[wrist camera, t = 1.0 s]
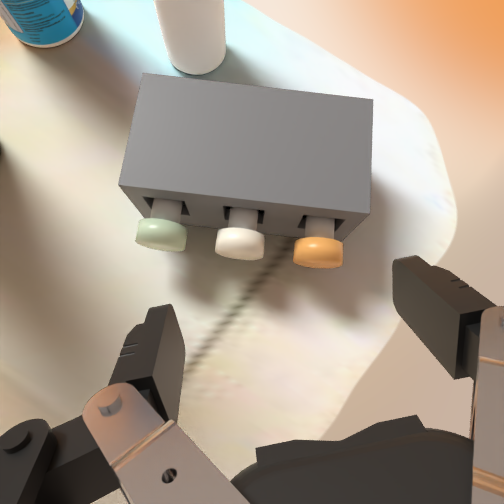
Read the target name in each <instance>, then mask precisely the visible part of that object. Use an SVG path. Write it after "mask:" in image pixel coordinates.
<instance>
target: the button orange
mask: <svg viewBox="0 0 504 504" xmlns="http://www.w3.org/2000/svg"><path fill="white" fill-rule="evenodd" d="M334 226H335V218H327V217H318V216H310V215H306V227H305V238H301V239H298V240H296V241H295V244H294V257H293V262H294V263H295V264H297V265H300V266H304V267H310V268H324V269H326V268H337V267H340V266H342V265H343V243H341V242H340V241H337V240H334Z"/></svg>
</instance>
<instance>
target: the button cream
mask: <svg viewBox="0 0 504 504" xmlns="http://www.w3.org/2000/svg"><path fill="white" fill-rule="evenodd" d="M258 212H259V210H257V209H248V208H240V207H231V208H230V215H229V223H228V228H223V229H220V230H219V231H218V232H217V239H216V246H215V252H216V253H217V254H219V255H221V256H224V257H228V258H233V259H240V260H258V259H261V258H263V254H264V245H265V236H264V235H263V234H261V233H259V232H257V231H256V229H257V220H258Z"/></svg>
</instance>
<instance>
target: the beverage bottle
mask: <svg viewBox="0 0 504 504" xmlns="http://www.w3.org/2000/svg"><path fill="white" fill-rule="evenodd" d="M0 16H1V18H2V19H3V20H4V21H5V23H6V25H7V26H8V28H9V29H10V30H11V32H12V33H13V34H14V35H15V36H16V37H17V38H18V39H19V40H21V41H22V42H24V43H26V44H28V45H31V46H34V47H40V48H48V47H55V46H58V45H61V44H63V43H65V42H67V41H69V40H70V39H72V38H73V37H74V36H75V35H76V34H77V33H78V31H79V30H80V28H81V26H82V24H83V20H84V10H83V6H82V3H81V1H80V0H0Z"/></svg>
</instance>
